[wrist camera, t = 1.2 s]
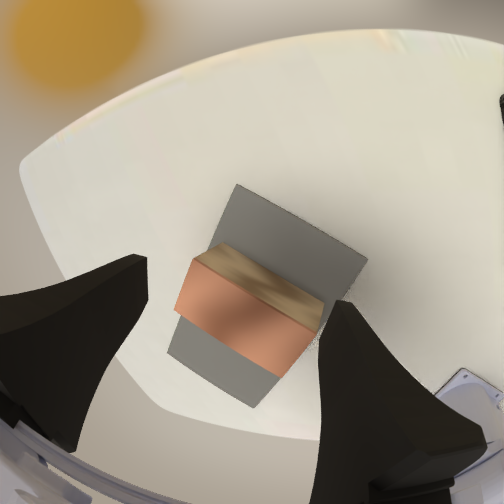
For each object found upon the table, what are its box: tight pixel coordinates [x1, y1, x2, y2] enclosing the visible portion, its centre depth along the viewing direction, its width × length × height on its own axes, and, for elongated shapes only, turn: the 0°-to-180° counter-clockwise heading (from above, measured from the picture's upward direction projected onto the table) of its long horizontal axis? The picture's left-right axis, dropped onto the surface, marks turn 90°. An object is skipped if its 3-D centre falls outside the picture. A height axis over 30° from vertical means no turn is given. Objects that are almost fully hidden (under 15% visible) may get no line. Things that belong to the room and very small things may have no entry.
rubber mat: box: [167, 184, 368, 408], centre depth 26 cm, size 12×21×1 cm, turn 152°
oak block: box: [174, 242, 324, 378], centre depth 22 cm, size 10×5×5 cm, turn 62°
